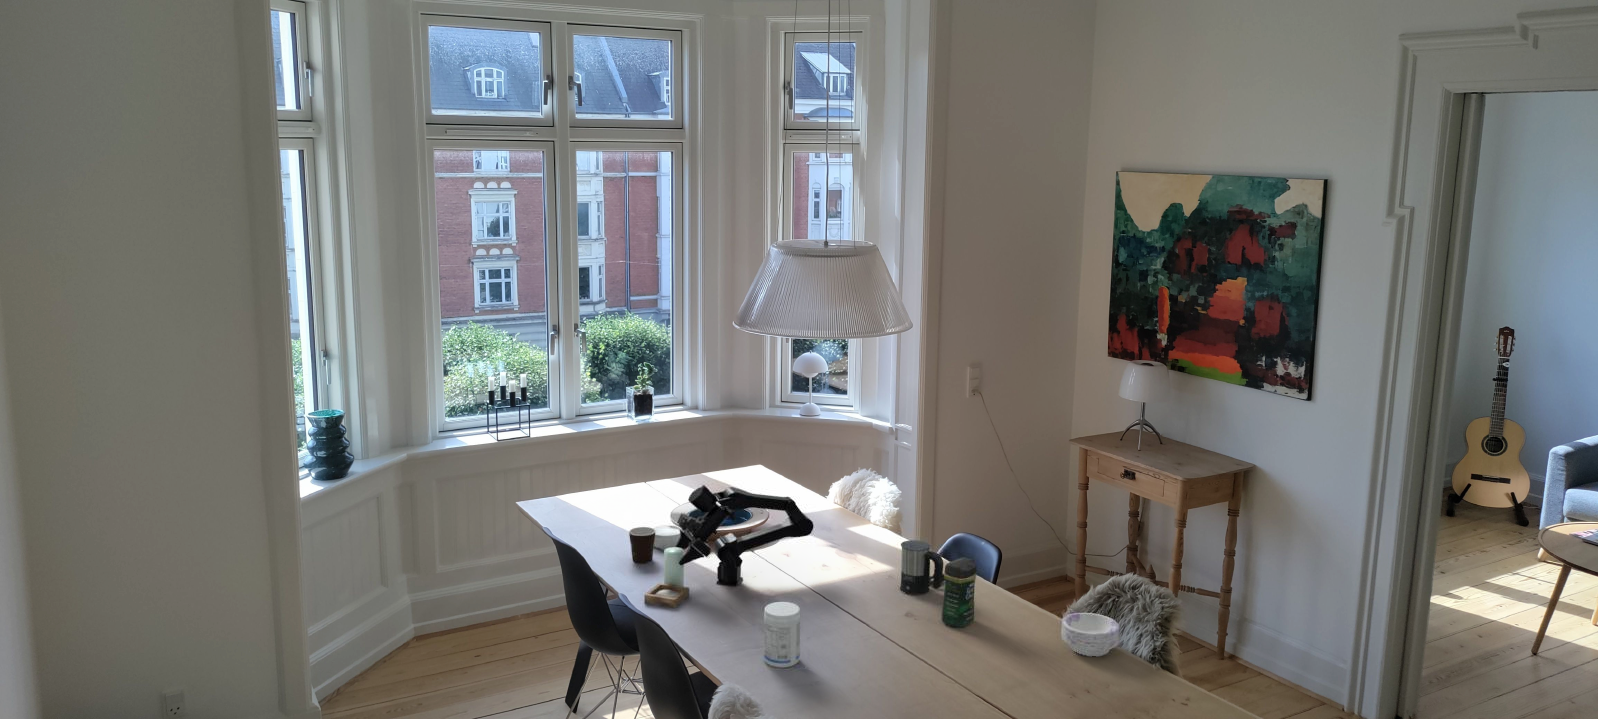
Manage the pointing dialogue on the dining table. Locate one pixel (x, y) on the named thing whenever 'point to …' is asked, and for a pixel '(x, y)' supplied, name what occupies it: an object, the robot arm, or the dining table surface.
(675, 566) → the pale green rounded part
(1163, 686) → the dining table surface
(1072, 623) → the paper bowls
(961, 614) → the coffee jar
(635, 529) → the coffee mug
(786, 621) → the supplement tub
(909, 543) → the milk frother
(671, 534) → the ramekin
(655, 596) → the tray
